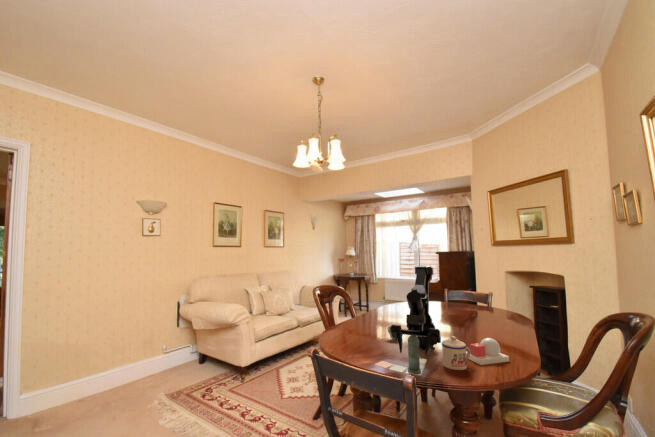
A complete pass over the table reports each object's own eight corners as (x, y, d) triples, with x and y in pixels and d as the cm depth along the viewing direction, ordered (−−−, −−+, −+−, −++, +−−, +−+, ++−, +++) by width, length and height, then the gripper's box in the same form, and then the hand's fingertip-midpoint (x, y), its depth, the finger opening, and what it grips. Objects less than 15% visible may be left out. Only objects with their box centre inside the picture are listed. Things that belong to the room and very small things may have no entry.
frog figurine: (390, 337, 159) (390, 323, 160) (403, 339, 155) (402, 325, 156) (385, 339, 155) (385, 325, 156) (397, 342, 150) (397, 327, 151)
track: (422, 357, 128) (422, 356, 128) (448, 373, 112) (448, 372, 112) (371, 363, 122) (371, 361, 122) (391, 381, 106) (391, 379, 106)
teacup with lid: (452, 373, 112) (451, 340, 114) (437, 364, 121) (436, 334, 122) (479, 369, 116) (477, 338, 117) (462, 361, 124) (461, 332, 125)
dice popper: (490, 353, 133) (489, 334, 134) (509, 361, 123) (507, 340, 124) (463, 356, 129) (462, 336, 130) (480, 365, 120) (479, 343, 121)
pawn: (416, 368, 115) (415, 333, 117) (423, 373, 111) (422, 336, 112) (405, 369, 114) (404, 334, 115) (412, 374, 109) (410, 337, 111)
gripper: (390, 304, 122) (384, 339, 111) (438, 307, 115) (437, 345, 103) (395, 320, 129) (389, 354, 118) (441, 324, 121) (440, 361, 110)
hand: (413, 354), depth 112 cm, fingers open, 9 cm apart
